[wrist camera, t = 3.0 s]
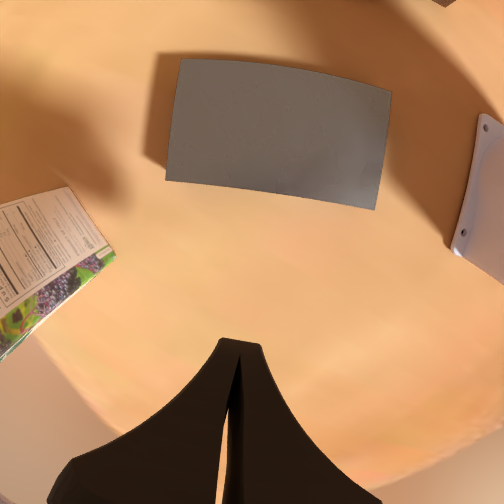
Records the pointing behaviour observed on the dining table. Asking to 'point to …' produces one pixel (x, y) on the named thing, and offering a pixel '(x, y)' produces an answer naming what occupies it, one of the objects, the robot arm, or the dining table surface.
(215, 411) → the robot arm
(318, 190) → the steel plate
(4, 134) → the dining table surface
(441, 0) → the bench dog strip
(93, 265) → the syrup box
